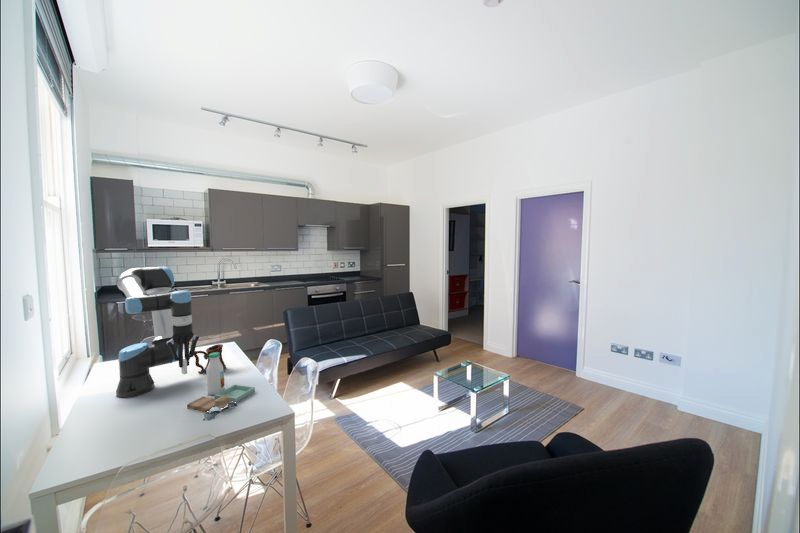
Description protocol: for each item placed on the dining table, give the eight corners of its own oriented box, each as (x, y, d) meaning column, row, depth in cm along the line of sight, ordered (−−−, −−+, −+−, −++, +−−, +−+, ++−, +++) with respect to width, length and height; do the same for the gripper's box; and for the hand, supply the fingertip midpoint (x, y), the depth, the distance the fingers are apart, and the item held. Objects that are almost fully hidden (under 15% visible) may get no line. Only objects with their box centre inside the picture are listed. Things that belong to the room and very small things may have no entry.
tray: (214, 400, 152) (214, 395, 152) (234, 389, 164) (234, 384, 164) (235, 403, 149) (235, 398, 149) (254, 392, 161) (254, 387, 161)
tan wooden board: (187, 409, 145) (187, 404, 144) (203, 401, 152) (203, 396, 152) (210, 414, 140) (209, 409, 140) (225, 406, 148) (225, 400, 147)
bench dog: (214, 411, 142) (214, 400, 142) (223, 406, 147) (223, 395, 146) (220, 412, 141) (219, 401, 141) (229, 406, 146) (228, 396, 146)
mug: (192, 378, 177) (190, 352, 176) (189, 372, 186) (188, 347, 185) (228, 370, 189) (227, 346, 188) (224, 365, 197) (223, 341, 197)
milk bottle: (216, 396, 156) (215, 356, 155) (203, 394, 158) (201, 355, 157) (228, 389, 164) (226, 351, 163) (215, 388, 166) (213, 350, 164)
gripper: (168, 328, 140) (170, 380, 142) (201, 322, 150) (202, 371, 152) (163, 325, 144) (165, 375, 146) (195, 320, 155) (196, 366, 157)
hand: (184, 373), depth 149 cm, fingers closed
